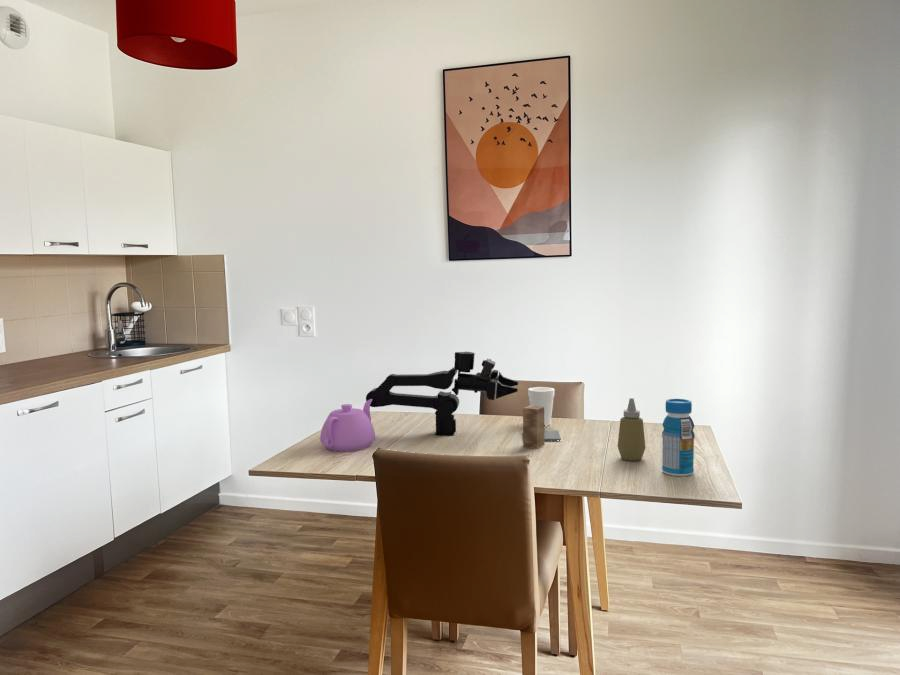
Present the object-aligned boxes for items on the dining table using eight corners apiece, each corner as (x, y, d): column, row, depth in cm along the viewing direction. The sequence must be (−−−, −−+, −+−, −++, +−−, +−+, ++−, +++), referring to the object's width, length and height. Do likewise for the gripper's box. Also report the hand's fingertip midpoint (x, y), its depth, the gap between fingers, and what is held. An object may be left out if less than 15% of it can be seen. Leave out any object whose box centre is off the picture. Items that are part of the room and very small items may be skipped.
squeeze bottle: (614, 455, 208) (614, 396, 206) (641, 454, 207) (642, 395, 206) (620, 462, 200) (620, 401, 198) (648, 462, 199) (649, 401, 198)
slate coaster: (524, 441, 227) (524, 438, 227) (523, 432, 239) (523, 430, 239) (560, 441, 226) (560, 438, 226) (558, 432, 238) (558, 430, 238)
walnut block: (523, 446, 220) (522, 408, 219) (530, 443, 224) (530, 405, 223) (537, 448, 217) (537, 409, 216) (544, 445, 221) (544, 406, 220)
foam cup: (554, 421, 255) (553, 387, 254) (555, 427, 246) (555, 391, 245) (528, 421, 256) (527, 387, 255) (528, 427, 247) (528, 391, 246)
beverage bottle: (659, 475, 187) (660, 402, 185) (663, 467, 194) (664, 397, 192) (692, 478, 183) (693, 404, 181) (695, 470, 191) (696, 398, 189)
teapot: (348, 457, 211) (347, 413, 210) (304, 451, 220) (302, 408, 219) (393, 439, 233) (392, 399, 232) (351, 434, 242) (350, 395, 240)
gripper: (471, 365, 227) (519, 369, 225) (476, 354, 245) (520, 358, 243) (469, 398, 229) (516, 402, 227) (474, 384, 247) (517, 388, 245)
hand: (517, 386), depth 236 cm, fingers open, 9 cm apart
